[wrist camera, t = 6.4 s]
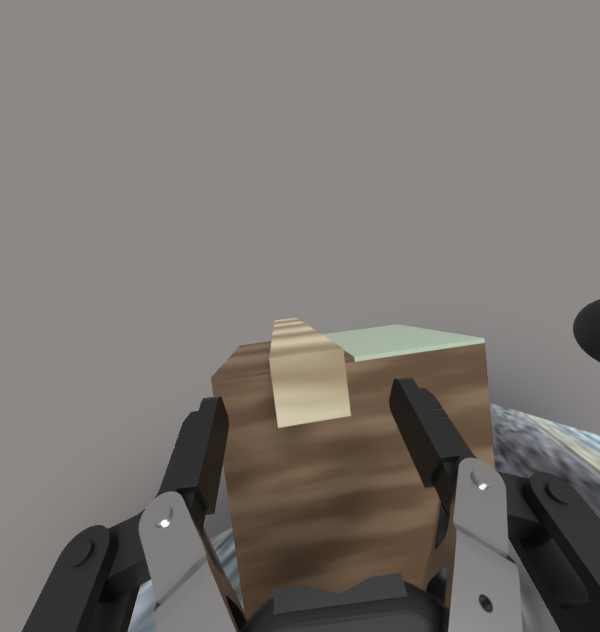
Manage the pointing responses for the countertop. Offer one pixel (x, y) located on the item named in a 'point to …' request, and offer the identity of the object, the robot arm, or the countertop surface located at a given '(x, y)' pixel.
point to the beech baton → (306, 375)
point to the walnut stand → (343, 463)
